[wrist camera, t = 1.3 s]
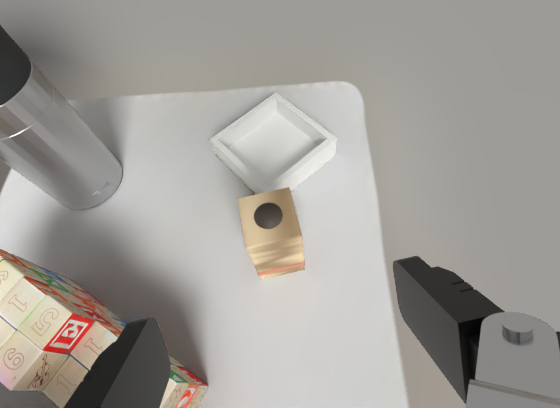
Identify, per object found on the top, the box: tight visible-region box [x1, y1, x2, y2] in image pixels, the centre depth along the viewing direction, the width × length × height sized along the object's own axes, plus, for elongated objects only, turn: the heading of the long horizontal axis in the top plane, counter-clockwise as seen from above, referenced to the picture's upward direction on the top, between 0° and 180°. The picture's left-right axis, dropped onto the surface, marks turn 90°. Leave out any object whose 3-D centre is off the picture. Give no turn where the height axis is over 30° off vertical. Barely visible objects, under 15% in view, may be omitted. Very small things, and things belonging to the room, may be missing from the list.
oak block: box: [238, 187, 305, 279], centre depth 35 cm, size 5×5×10 cm
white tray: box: [209, 93, 337, 194], centre depth 44 cm, size 12×12×4 cm
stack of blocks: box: [0, 249, 208, 408], centre depth 30 cm, size 21×6×12 cm, turn 59°
